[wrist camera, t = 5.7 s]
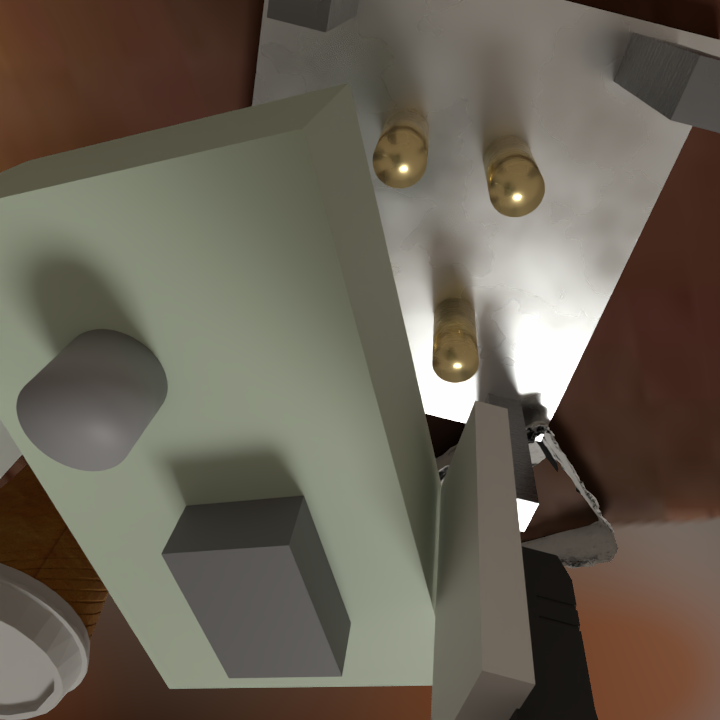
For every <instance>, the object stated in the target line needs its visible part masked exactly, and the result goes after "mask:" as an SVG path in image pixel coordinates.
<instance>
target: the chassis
mask: <svg viewBox="0 0 720 720" xmlns="http://www.w3.org/2000/svg"><path fill="white" fill-rule="evenodd" d="M345 83H350V88H351V92H352V96H353V101H354V105H355V109H356V114H357V118H358V123H359V127H360V131H361V136H362V140H363V144H364V149H365V153H366V158H367V162H368V166H369V171H370V175H371V179H372V184H373V188H374V193H375V197H376V201H377V206H378V210H379V214H380V219H381V223H382V227H383V232H384V236H385V241H386V245H387V249H388V254H389V258H390V262H391V267H392V271H393V276H394V280H395V284H396V289H397V293H398V297H399V302H400V306H401V311H402V315H403V319H404V324H405V328H406V332H407V337H408V341H409V346H410V350H411V354H412V359H413V363H414V367H415V372H416V376H417V381H418V385H419V389H420V394H421V398H422V402H423V407H424V411H425V414H429V415H433V416H437V417H442V418H446V419H450V420H454V421H458V422H462V423H466V422H467V419H468V417H469V414H470V412H471V409H472V407H473V404H474V401H475V400H476V401H479V402H483V403H487V404H491V405H495V406H499V407H502V408H506V409H508V418H509V428H510V438H511V448H512V458H513V468H514V478H515V488H516V498H517V507H518V517H519V527H520V531H522V532H525V530H526V528H527V526H528V524H529V522H530V520H531V518H532V516H533V514H534V512H535V510H536V508H537V506H538V504H539V502H538V496H537V491H536V485H535V479H534V473H533V468H532V462H531V456H530V450H529V445H528V439H527V433H526V427H525V426H527V425H530V424H532V423H533V422H535V421H540V420H541V421H543V422H544V423H546V424H547V425H549V423H550V421H551V419H552V417H553V415H554V412H555V410H556V408H557V406H558V404H559V402H560V400H561V398H562V396H563V394H564V392H565V390H566V387H567V385H568V383H569V381H570V379H571V377H572V375H573V373H574V371H575V369H576V367H577V365H578V363H579V360H580V358H581V356H582V354H583V352H584V350H585V348H586V346H587V344H588V342H589V340H590V338H591V336H592V333H593V331H594V329H595V327H596V325H597V323H598V321H599V319H600V317H601V315H602V313H603V311H604V308H605V306H606V304H607V302H608V300H609V298H610V296H611V294H612V292H613V290H614V288H615V286H616V284H617V281H618V279H619V277H620V275H621V273H622V271H623V269H624V267H625V265H626V263H627V261H628V259H629V256H630V254H631V252H632V250H633V248H634V246H635V244H636V242H637V240H638V238H639V236H640V234H641V232H642V229H643V227H644V225H645V223H646V221H647V219H648V217H649V215H650V213H651V211H652V209H653V207H654V205H655V202H656V200H657V198H658V196H659V194H660V192H661V190H662V188H663V186H664V184H665V182H666V180H667V177H668V175H669V173H670V171H671V169H672V167H673V165H674V163H675V161H676V159H677V157H678V155H679V153H680V150H681V148H682V146H683V144H684V142H685V140H686V138H687V136H688V134H689V132H690V130H691V128H692V126H695V127H699V128H703V129H707V130H710V131H714V132H718V133H720V40H718V39H714V38H710V37H706V36H702V35H699V34H695V33H691V32H687V31H683V30H679V29H675V28H671V27H667V26H664V25H660V24H656V23H652V22H648V21H644V20H640V19H636V18H632V17H629V16H625V15H621V14H617V13H613V12H609V11H605V10H601V9H597V8H594V7H590V6H586V5H582V4H578V3H574V2H570V1H566V0H264V8H263V17H262V25H261V34H260V42H259V51H258V59H257V68H256V76H255V85H254V94H253V102H252V106H255V105H259V104H263V103H267V102H271V101H275V100H280V99H284V98H288V97H292V96H296V95H300V94H304V93H308V92H312V91H316V90H320V89H325V88H329V87H333V86H337V85H341V84H345ZM543 435H544V434H540V435H539V436H538V437H536V438H535V440H536V441H540V442H541V439H542V437H543Z"/></svg>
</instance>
